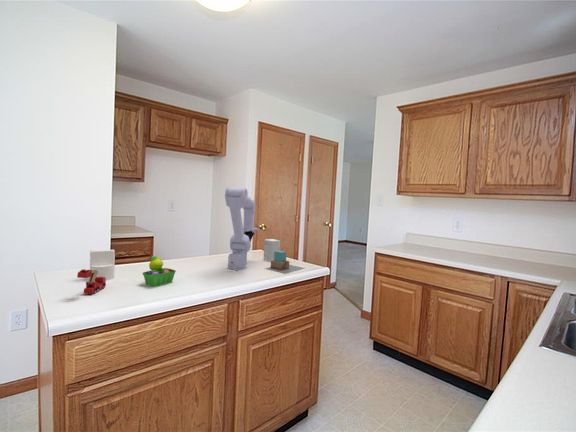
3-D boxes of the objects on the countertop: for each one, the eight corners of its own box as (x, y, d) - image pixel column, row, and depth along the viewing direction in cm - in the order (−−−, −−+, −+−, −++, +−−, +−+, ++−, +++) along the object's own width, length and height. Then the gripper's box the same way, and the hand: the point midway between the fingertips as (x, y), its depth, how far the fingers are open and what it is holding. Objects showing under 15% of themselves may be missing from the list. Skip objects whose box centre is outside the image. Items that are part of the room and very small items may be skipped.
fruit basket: (152, 288, 121) (153, 260, 121) (139, 284, 126) (139, 257, 125) (176, 282, 131) (177, 256, 130) (163, 278, 136) (164, 253, 135)
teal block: (280, 262, 159) (281, 252, 158) (274, 260, 161) (274, 251, 161) (286, 261, 162) (286, 251, 162) (279, 259, 165) (279, 250, 164)
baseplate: (285, 275, 151) (285, 273, 151) (263, 270, 159) (264, 268, 159) (305, 269, 165) (305, 268, 165) (285, 265, 174) (285, 263, 174)
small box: (279, 262, 180) (280, 240, 179) (271, 263, 176) (272, 241, 175) (271, 259, 186) (272, 238, 185) (263, 260, 182) (264, 239, 181)
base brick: (280, 270, 157) (281, 263, 157) (270, 268, 161) (270, 260, 161) (289, 268, 163) (289, 261, 162) (278, 266, 167) (279, 258, 166)
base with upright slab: (88, 281, 125) (88, 253, 124) (91, 276, 133) (91, 249, 132) (113, 280, 129) (114, 252, 129) (114, 274, 137) (115, 248, 137)
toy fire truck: (106, 287, 120) (107, 262, 119) (86, 298, 106) (87, 271, 106) (97, 286, 120) (98, 262, 119) (76, 298, 106) (76, 271, 106)
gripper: (244, 222, 165) (243, 247, 166) (262, 221, 176) (261, 244, 177) (235, 221, 169) (234, 245, 170) (253, 219, 181) (252, 242, 182)
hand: (247, 244), depth 174 cm, fingers closed
